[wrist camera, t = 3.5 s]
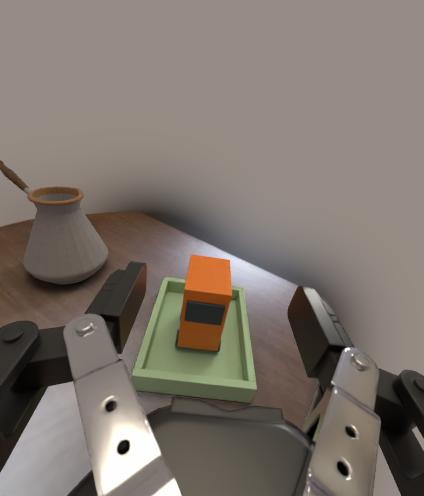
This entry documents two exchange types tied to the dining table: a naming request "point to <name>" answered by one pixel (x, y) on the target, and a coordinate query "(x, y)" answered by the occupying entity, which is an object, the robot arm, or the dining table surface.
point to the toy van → (205, 303)
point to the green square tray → (195, 353)
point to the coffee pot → (60, 235)
